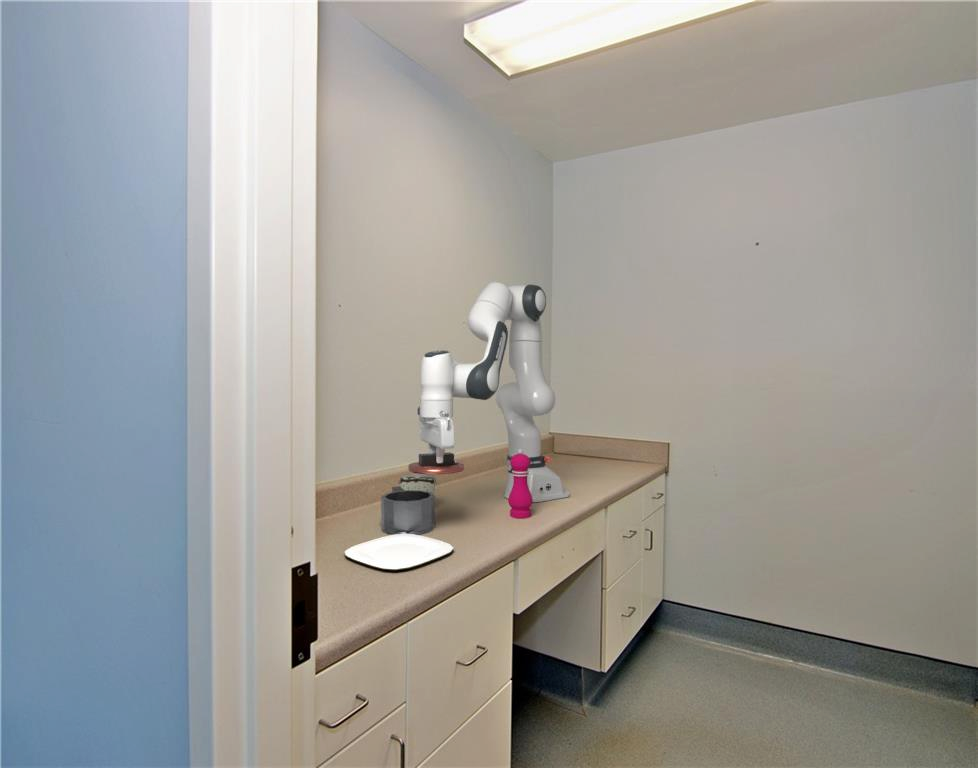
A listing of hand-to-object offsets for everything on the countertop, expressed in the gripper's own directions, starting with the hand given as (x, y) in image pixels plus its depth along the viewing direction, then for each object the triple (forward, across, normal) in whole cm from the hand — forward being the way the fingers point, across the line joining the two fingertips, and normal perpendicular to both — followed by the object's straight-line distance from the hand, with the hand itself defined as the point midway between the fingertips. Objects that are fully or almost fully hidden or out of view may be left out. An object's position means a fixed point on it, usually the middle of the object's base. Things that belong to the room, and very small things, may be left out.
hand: (436, 461), depth 151 cm
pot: (+19, +8, +7) cm, 21 cm away
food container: (+19, +26, -3) cm, 32 cm away
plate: (+20, -16, +14) cm, 29 cm away
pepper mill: (+18, +4, -27) cm, 33 cm away
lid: (+2, 0, 0) cm, 2 cm away
